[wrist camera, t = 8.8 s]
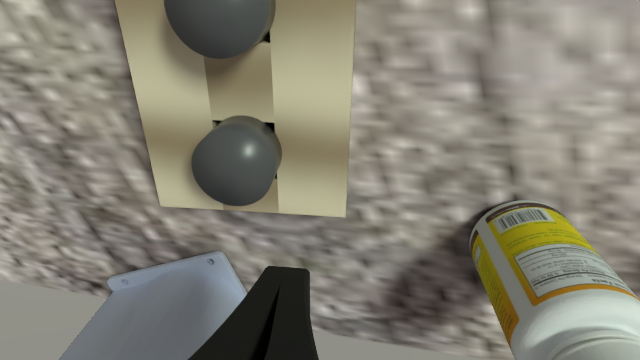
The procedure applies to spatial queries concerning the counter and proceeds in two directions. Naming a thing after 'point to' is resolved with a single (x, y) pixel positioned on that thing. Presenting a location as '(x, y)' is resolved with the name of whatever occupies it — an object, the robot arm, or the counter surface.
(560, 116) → the counter surface
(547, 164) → the counter surface
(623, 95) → the counter surface
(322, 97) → the knob mount
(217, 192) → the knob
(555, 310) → the supplement bottle
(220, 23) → the knob middle
